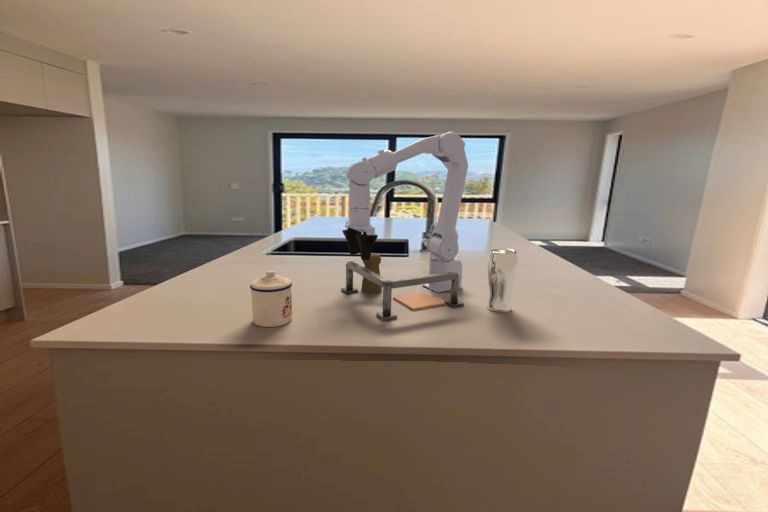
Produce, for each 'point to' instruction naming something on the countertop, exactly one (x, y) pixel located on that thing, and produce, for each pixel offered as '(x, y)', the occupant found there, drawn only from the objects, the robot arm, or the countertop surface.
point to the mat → (418, 301)
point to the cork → (373, 266)
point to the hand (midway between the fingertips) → (359, 257)
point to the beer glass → (501, 278)
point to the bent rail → (398, 283)
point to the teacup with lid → (271, 300)
